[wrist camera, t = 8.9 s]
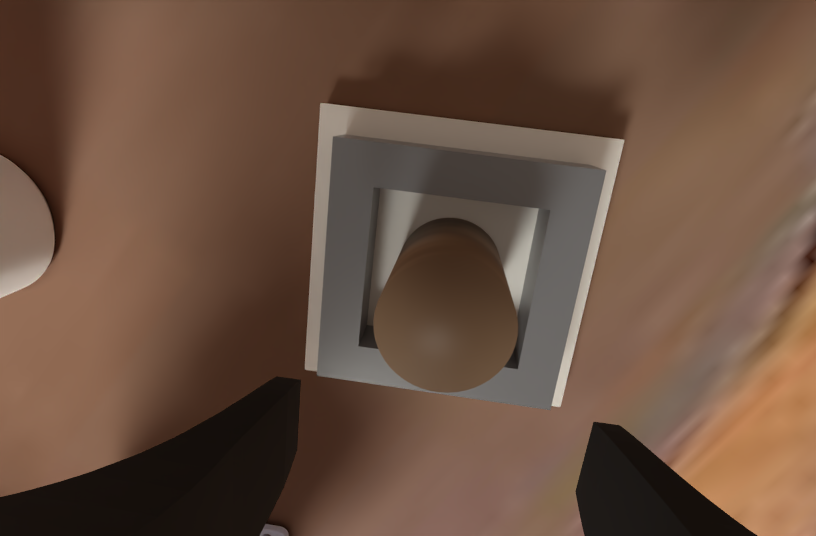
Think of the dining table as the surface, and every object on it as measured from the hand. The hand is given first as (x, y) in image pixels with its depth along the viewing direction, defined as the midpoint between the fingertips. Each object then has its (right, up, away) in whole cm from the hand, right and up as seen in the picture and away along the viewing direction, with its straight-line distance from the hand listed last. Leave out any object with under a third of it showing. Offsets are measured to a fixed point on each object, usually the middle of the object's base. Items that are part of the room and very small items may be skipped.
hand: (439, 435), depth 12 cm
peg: (+1, +4, +7) cm, 8 cm away
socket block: (+1, +4, +8) cm, 9 cm away
